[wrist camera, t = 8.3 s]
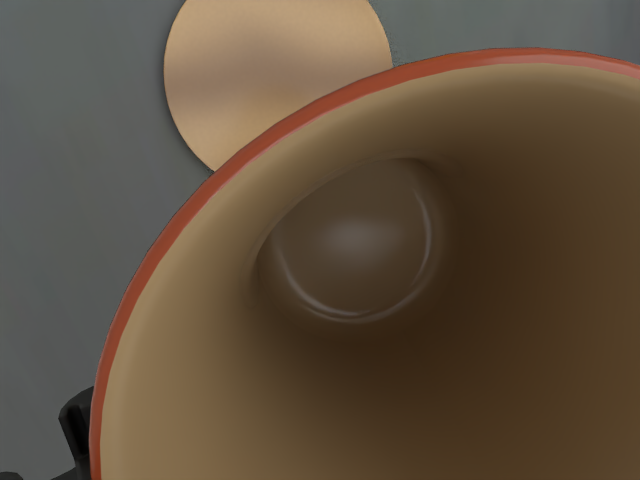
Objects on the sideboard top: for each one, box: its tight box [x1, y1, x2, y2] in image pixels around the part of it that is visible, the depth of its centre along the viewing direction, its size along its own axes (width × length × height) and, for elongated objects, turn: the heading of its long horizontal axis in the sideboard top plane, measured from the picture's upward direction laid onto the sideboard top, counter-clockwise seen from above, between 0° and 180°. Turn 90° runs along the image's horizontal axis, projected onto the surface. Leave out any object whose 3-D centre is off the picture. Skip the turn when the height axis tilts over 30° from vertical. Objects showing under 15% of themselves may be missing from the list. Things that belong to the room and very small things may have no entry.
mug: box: [89, 47, 640, 480], centre depth 11 cm, size 12×9×10 cm
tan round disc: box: [163, 0, 392, 172], centre depth 30 cm, size 13×13×1 cm
